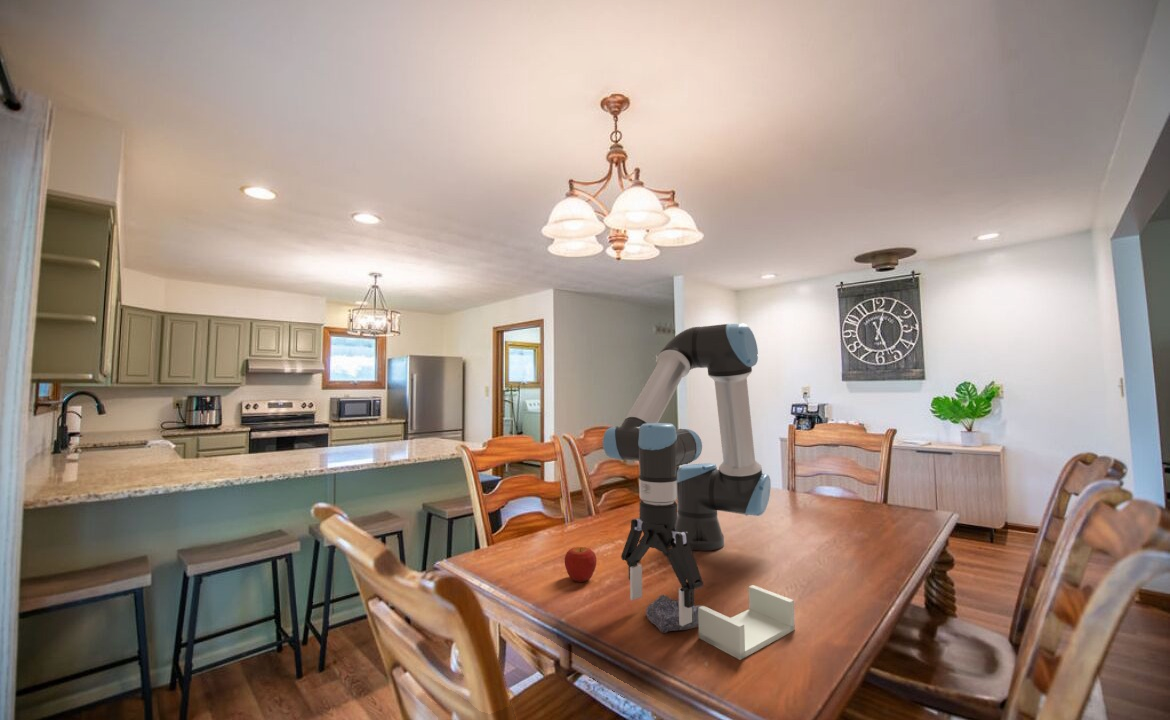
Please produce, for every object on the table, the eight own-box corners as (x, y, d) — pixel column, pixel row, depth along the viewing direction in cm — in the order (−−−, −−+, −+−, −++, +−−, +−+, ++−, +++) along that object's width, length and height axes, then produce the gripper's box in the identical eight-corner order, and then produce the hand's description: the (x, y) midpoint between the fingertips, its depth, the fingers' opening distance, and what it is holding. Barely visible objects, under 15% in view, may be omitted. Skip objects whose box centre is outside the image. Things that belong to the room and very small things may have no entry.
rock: (709, 602, 94) (674, 610, 88) (709, 632, 93) (673, 642, 87) (665, 586, 103) (630, 592, 97) (664, 613, 102) (629, 620, 96)
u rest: (698, 638, 89) (698, 607, 89) (753, 612, 99) (752, 584, 99) (740, 660, 81) (739, 626, 82) (794, 629, 91) (793, 600, 92)
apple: (600, 575, 119) (600, 543, 119) (590, 588, 111) (590, 553, 112) (571, 571, 121) (571, 540, 122) (559, 583, 114) (559, 550, 114)
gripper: (604, 492, 104) (605, 593, 102) (693, 516, 84) (695, 642, 82) (630, 488, 108) (631, 584, 107) (721, 510, 88) (723, 629, 87)
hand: (659, 610), depth 95 cm, fingers open, 13 cm apart
